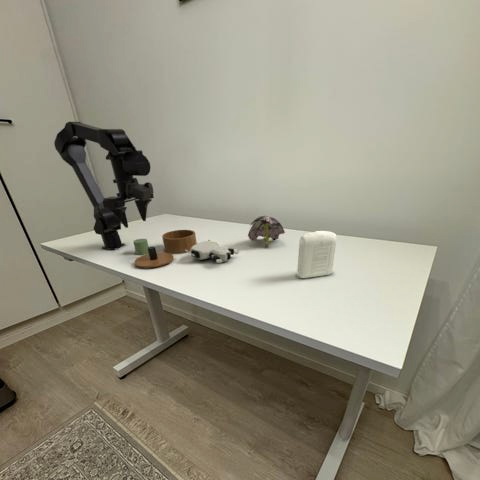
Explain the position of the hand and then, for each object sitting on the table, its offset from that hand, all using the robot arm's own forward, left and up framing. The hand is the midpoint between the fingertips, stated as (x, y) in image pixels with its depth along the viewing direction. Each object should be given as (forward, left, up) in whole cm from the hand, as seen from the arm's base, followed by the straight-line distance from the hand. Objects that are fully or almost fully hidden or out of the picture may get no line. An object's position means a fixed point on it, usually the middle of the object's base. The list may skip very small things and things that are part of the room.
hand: (135, 224), depth 99 cm
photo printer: (+65, -2, -11) cm, 66 cm away
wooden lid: (+11, -7, -10) cm, 16 cm away
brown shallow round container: (+12, +8, -11) cm, 18 cm away
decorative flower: (+42, +21, -11) cm, 48 cm away
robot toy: (+30, +1, -11) cm, 32 cm away
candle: (0, 0, -11) cm, 11 cm away
